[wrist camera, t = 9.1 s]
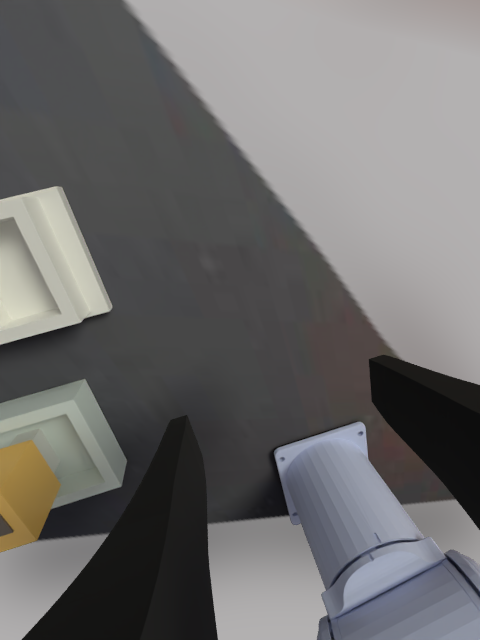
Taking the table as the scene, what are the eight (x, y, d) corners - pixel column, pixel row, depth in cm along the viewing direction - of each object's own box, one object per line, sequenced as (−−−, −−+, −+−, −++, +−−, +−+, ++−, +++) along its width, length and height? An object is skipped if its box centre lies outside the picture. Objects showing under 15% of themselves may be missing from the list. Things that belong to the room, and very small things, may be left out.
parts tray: (127, 460, 23) (121, 486, 21) (6, 498, 22) (-12, 528, 20) (85, 378, 20) (73, 399, 18) (-55, 419, 20) (-84, 445, 17)
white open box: (112, 306, 19) (102, 322, 16) (-3, 338, 18) (-31, 358, 16) (61, 187, 16) (41, 184, 14) (-75, 219, 16) (-122, 222, 13)
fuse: (70, 463, 22) (36, 542, 17) (34, 474, 21) (-11, 557, 16) (44, 420, 20) (-3, 492, 15) (5, 431, 20) (-55, 508, 15)
